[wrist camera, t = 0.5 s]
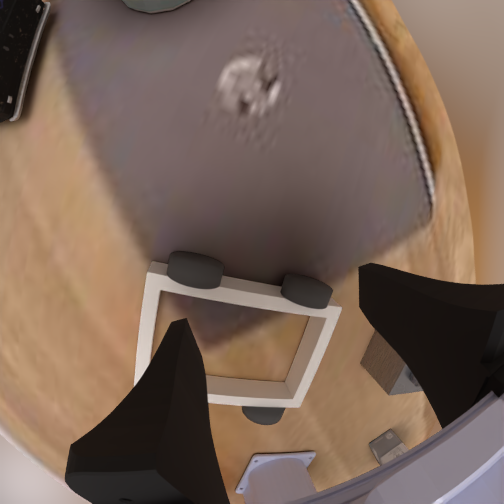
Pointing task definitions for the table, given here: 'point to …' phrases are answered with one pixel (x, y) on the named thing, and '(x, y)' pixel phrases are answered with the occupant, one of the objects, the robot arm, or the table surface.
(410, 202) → the table surface
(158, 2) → the disposable coffee cup
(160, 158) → the table surface
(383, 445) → the label tape box
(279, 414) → the chassis
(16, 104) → the toy van
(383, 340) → the engine block
